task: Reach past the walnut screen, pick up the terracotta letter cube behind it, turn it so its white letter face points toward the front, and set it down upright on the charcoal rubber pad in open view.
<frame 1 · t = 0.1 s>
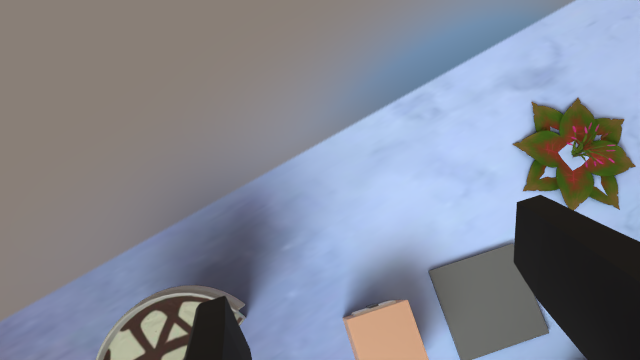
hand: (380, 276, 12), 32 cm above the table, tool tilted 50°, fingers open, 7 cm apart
letter cube: (379, 337, 42), on the table
charcoal pad: (486, 301, 43), on the table
food container: (183, 338, 42), on the table
lily flower: (569, 156, 47), on the table
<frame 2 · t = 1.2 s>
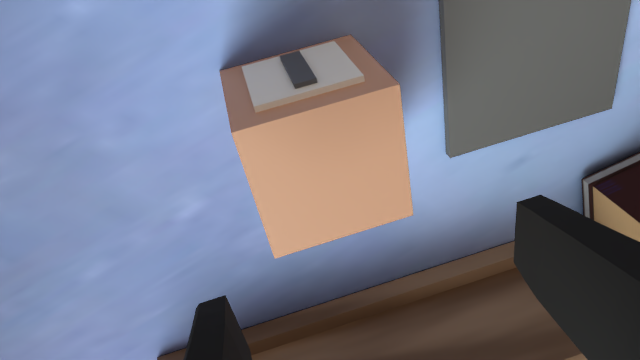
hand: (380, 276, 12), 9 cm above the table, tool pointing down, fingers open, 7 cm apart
letter cube: (299, 111, 19), on the table
charcoal pad: (532, 45, 20), on the table
walnut screen: (349, 314, 26), on the table
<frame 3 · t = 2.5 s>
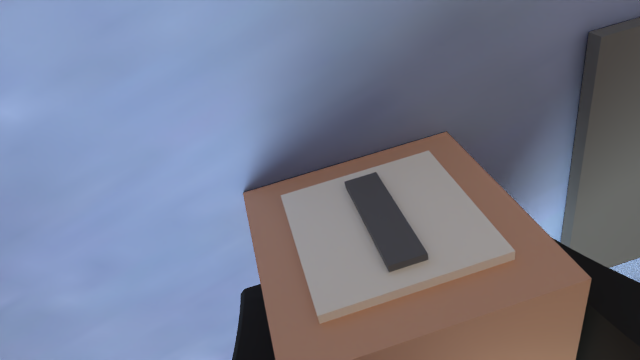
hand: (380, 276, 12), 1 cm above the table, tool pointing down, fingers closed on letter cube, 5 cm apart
letter cube: (361, 239, 13), on the table, touching gripper
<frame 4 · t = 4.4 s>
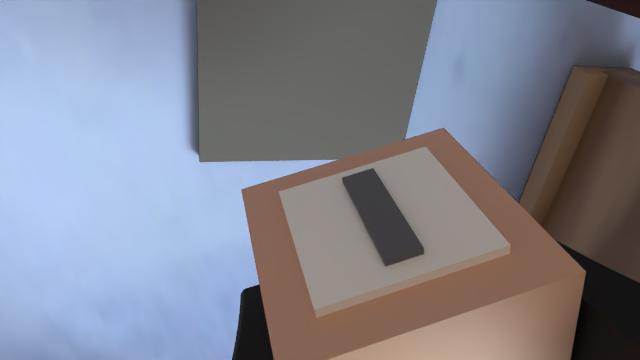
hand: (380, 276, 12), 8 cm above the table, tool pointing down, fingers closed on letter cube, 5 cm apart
letter cube: (359, 235, 13), point 7 cm above the table, touching gripper
charcoal pad: (314, 55, 17), on the table
walnut screen: (523, 250, 26), on the table
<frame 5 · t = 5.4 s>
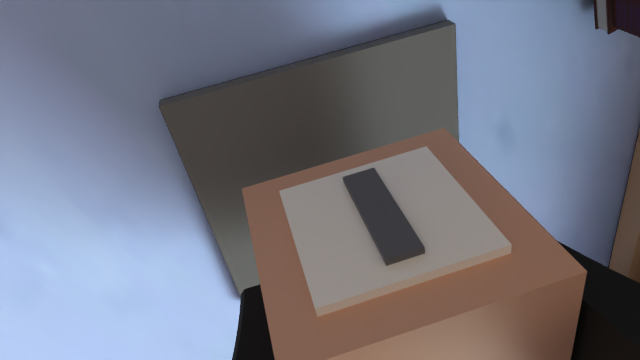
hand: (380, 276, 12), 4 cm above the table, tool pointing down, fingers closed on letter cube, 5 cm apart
letter cube: (360, 235, 13), point 3 cm above the table, touching gripper
charcoal pad: (333, 179, 15), on the table
walnut screen: (634, 275, 22), on the table
when the fingers open (3 cm above the table, at t = 6.2 s): letter cube drops 1 cm, resting on charcoal pad.
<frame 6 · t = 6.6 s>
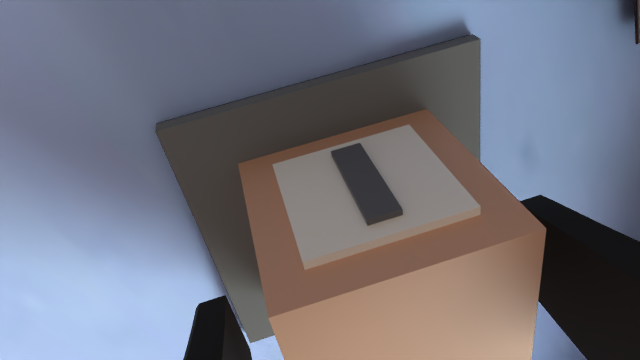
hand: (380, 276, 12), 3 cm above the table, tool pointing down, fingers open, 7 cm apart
letter cube: (348, 211, 14), resting on charcoal pad
charcoal pad: (345, 204, 14), on the table
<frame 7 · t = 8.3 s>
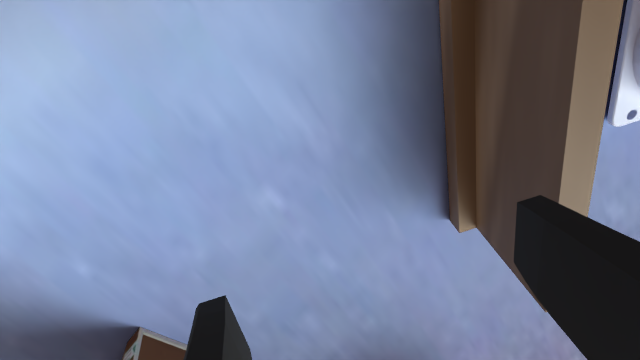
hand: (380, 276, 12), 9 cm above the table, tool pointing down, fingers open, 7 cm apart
walnut screen: (476, 16, 19), on the table
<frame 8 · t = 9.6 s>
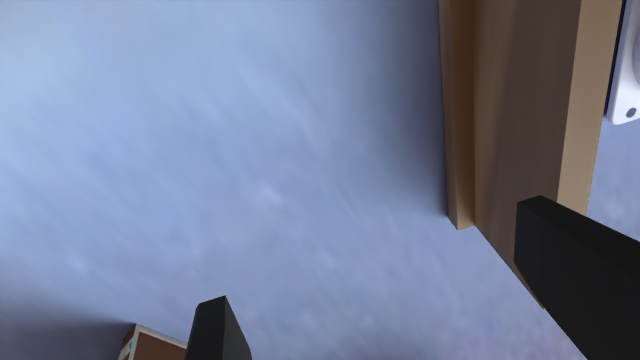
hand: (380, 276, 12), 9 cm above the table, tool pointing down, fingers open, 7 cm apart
walnut screen: (475, 12, 19), on the table
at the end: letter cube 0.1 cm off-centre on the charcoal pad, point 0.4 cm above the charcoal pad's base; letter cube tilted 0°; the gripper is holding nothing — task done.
